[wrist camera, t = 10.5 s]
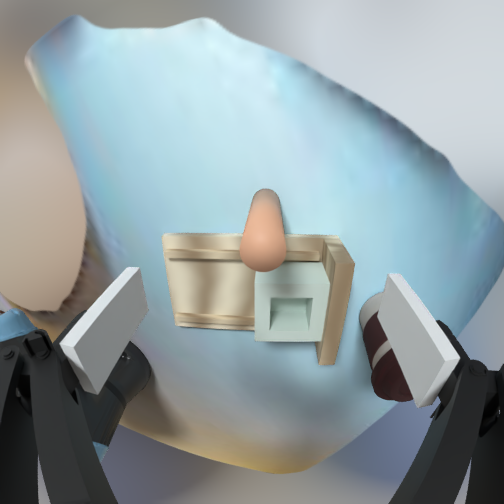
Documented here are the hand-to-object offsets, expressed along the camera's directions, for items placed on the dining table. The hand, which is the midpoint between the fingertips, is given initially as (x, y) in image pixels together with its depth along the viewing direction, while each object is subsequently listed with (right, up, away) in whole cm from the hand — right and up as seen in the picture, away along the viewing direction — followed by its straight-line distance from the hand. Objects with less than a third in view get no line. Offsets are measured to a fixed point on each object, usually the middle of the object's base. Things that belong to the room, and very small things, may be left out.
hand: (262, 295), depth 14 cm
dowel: (+1, +8, +19) cm, 21 cm away
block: (+4, -3, +22) cm, 22 cm away
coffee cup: (+19, -7, +24) cm, 31 cm away
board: (-1, -2, +23) cm, 23 cm away
